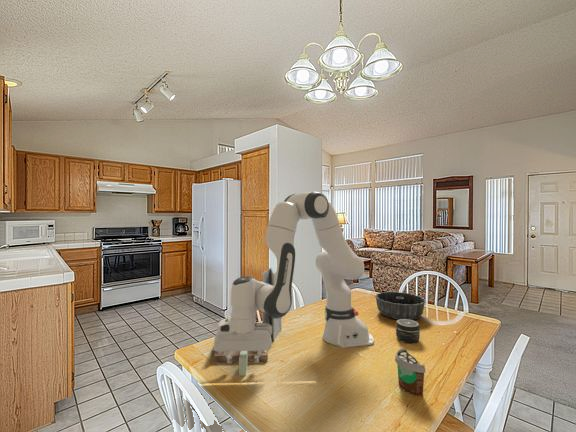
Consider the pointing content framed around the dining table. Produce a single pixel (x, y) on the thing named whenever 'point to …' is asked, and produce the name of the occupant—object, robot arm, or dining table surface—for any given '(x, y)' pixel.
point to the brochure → (275, 323)
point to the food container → (410, 373)
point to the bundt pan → (400, 305)
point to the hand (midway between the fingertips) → (243, 362)
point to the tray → (235, 356)
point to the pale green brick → (243, 362)
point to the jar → (407, 331)
